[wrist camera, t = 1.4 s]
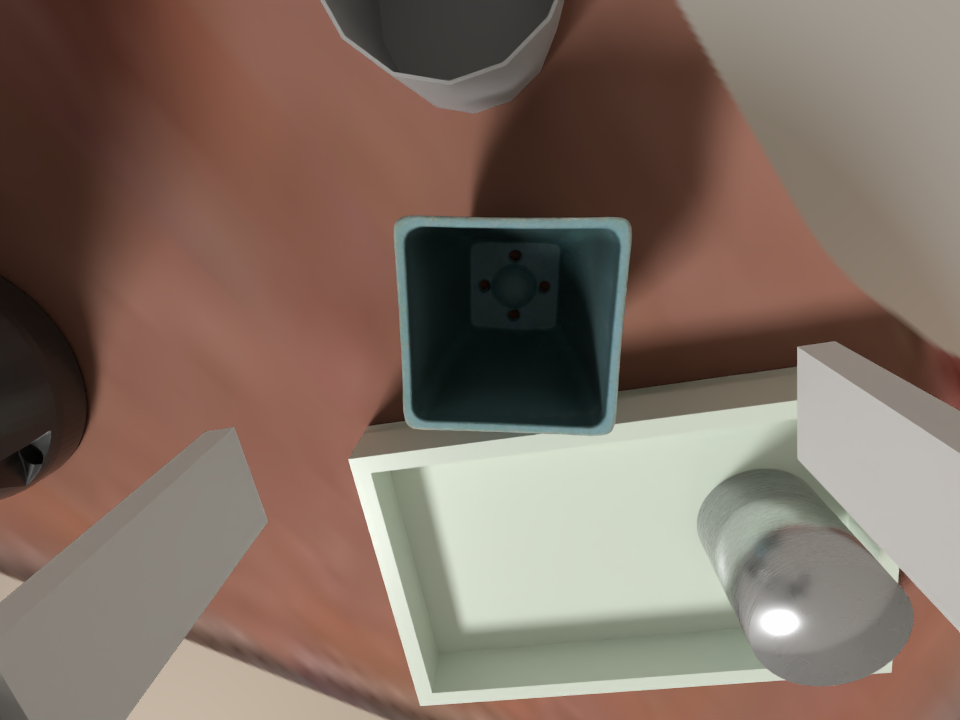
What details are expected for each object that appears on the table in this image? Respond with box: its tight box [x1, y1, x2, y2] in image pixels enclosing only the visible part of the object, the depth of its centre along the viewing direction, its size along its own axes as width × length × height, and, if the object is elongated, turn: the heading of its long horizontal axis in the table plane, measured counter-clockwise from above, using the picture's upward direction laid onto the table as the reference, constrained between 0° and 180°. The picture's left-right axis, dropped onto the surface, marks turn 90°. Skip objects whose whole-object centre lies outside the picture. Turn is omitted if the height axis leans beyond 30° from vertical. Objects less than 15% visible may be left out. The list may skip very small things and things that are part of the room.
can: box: [697, 469, 913, 686], centre depth 29 cm, size 7×7×8 cm
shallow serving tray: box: [348, 367, 899, 706], centre depth 32 cm, size 28×18×4 cm, turn 100°
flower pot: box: [394, 215, 632, 436], centre depth 26 cm, size 9×9×9 cm
